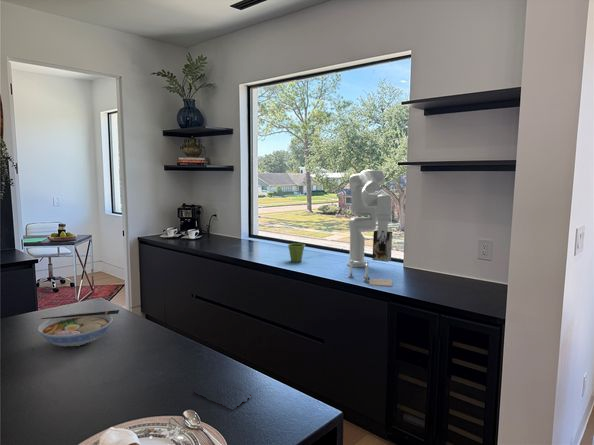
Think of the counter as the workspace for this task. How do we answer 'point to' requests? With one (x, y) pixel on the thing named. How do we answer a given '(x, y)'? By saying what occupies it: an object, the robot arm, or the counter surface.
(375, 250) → the coffee box
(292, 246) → the plant pot
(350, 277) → the white arch piece
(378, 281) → the tile
